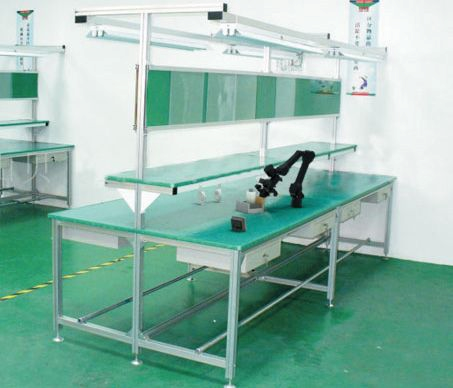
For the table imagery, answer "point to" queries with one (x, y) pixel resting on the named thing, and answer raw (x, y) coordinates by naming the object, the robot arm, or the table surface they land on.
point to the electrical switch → (238, 223)
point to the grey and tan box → (257, 203)
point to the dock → (246, 208)
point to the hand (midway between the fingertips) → (258, 199)
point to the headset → (216, 195)
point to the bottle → (250, 196)
